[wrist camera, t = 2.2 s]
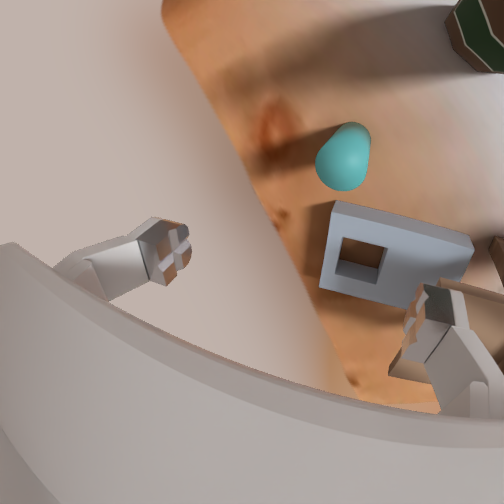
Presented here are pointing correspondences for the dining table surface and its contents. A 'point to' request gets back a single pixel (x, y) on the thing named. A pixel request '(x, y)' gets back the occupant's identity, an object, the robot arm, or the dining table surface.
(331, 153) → the peg
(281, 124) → the dining table surface
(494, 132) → the dining table surface
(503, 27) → the beer bottle
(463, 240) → the socket
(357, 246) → the dining table surface
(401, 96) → the dining table surface
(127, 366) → the robot arm
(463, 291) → the toy chair
